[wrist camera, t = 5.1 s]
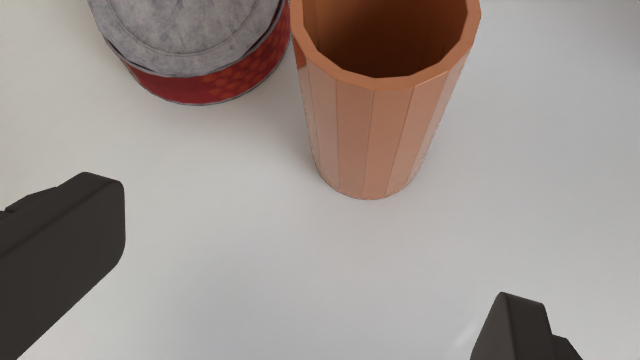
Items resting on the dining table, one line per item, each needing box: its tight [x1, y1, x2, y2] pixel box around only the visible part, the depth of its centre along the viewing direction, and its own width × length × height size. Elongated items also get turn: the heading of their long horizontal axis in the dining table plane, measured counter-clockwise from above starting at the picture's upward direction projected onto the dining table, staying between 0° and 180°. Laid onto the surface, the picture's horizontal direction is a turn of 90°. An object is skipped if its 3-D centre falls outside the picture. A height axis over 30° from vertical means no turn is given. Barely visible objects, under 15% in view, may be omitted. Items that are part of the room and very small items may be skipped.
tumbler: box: [289, 0, 481, 200], centre depth 19 cm, size 6×6×11 cm
